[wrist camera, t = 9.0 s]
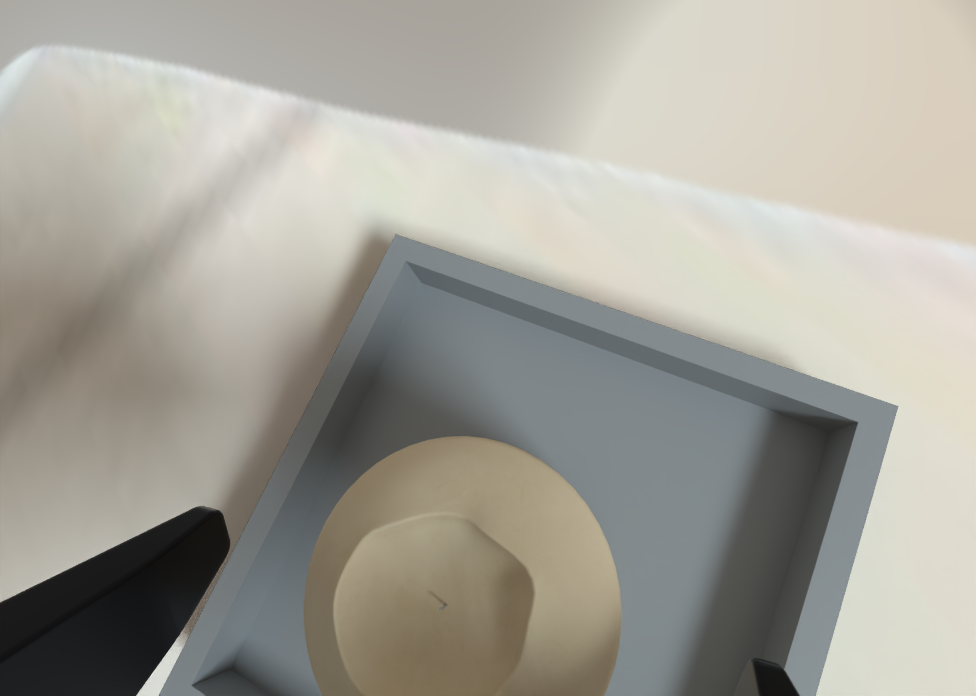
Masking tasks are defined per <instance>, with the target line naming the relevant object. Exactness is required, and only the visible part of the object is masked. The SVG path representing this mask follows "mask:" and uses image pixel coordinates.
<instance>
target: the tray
mask: <svg viewBox="0 0 976 696" xmlns="http://www.w3.org/2000/svg"><path fill="white" fill-rule="evenodd" d="M897 409H898V406H896V405H893V404H890V403H887V402H884V401H881V400H878V399H876V398H873V397H870V396H867V395H864V394H861V393H858V392H855V391H852V390H849V389H846V388H843V387H841V386H838V385H835V384H832V383H829V382H826V381H823V380H820V379H817V378H814V377H811V376H808V375H806V374H803V373H800V372H797V371H794V370H791V369H788V368H785V367H782V366H779V365H776V364H773V363H770V362H768V361H765V360H762V359H759V358H756V357H753V356H750V355H747V354H744V353H741V352H738V351H735V350H733V349H730V348H727V347H724V346H721V345H718V344H715V343H712V342H709V341H706V340H703V339H700V338H698V337H695V336H692V335H689V334H686V333H683V332H680V331H677V330H674V329H671V328H668V327H665V326H662V325H660V324H657V323H654V322H651V321H648V320H645V319H642V318H639V317H636V316H633V315H630V314H627V313H625V312H622V311H619V310H616V309H613V308H610V307H607V306H604V305H601V304H598V303H595V302H592V301H590V300H587V299H584V298H581V297H578V296H575V295H572V294H569V293H566V292H563V291H560V290H557V289H555V288H552V287H549V286H546V285H543V284H540V283H537V282H534V281H531V280H528V279H525V278H522V277H519V276H517V275H514V274H511V273H508V272H505V271H502V270H499V269H496V268H493V267H490V266H487V265H484V264H482V263H479V262H476V261H473V260H470V259H467V258H464V257H461V256H458V255H455V254H452V253H449V252H447V251H444V250H441V249H438V248H435V247H432V246H429V245H426V244H423V243H420V242H417V241H414V240H411V239H409V238H406V237H403V236H400V235H397V234H396V235H395V237H394V239H393V240H392V242H391V244H390V246H389V248H388V250H387V252H386V254H385V256H384V258H383V260H382V262H381V264H380V266H379V268H378V270H377V272H376V274H375V276H374V277H373V279H372V281H371V283H370V285H369V287H368V289H367V291H366V293H365V295H364V297H363V299H362V301H361V303H360V305H359V307H358V309H357V311H356V313H355V314H354V316H353V318H352V320H351V322H350V324H349V326H348V328H347V330H346V332H345V334H344V336H343V338H342V340H341V342H340V344H339V346H338V348H337V349H336V351H335V353H334V355H333V357H332V359H331V361H330V363H329V365H328V367H327V369H326V371H325V373H324V375H323V377H322V379H321V381H320V383H319V385H318V386H317V388H316V390H315V392H314V394H313V396H312V398H311V400H310V402H309V404H308V406H307V408H306V410H305V412H304V414H303V416H302V418H301V420H300V422H299V423H298V425H297V427H296V429H295V431H294V433H293V435H292V437H291V439H290V441H289V443H288V445H287V447H286V449H285V451H284V453H283V455H282V457H281V459H280V460H279V462H278V464H277V466H276V468H275V470H274V472H273V474H272V476H271V478H270V480H269V482H268V484H267V486H266V488H265V490H264V492H263V494H262V496H261V497H260V499H259V501H258V503H257V505H256V507H255V509H254V511H253V513H252V515H251V517H250V519H249V521H248V523H247V525H246V527H245V529H244V531H243V533H242V534H241V536H240V538H239V540H238V542H237V544H236V546H235V548H234V550H233V552H232V554H231V556H230V558H229V560H228V562H227V564H226V566H225V568H224V569H223V571H222V573H221V575H220V577H219V579H218V581H217V583H216V585H215V587H214V589H213V591H212V593H211V595H210V597H209V599H208V601H207V603H206V605H205V606H204V608H203V610H202V612H201V614H200V616H199V618H198V620H197V622H196V624H195V626H194V628H193V630H192V632H191V634H190V636H189V638H188V640H187V642H186V643H185V645H184V647H183V649H182V651H181V653H180V655H179V657H178V659H177V661H176V663H175V665H174V667H173V669H172V671H171V673H170V675H169V677H168V679H167V680H166V682H165V684H164V686H163V688H162V690H161V692H160V694H159V696H322V694H321V692H320V689H319V687H318V684H317V681H316V679H315V676H314V674H313V671H312V667H311V663H310V659H309V655H308V651H307V644H306V637H305V630H304V596H305V585H306V579H307V574H308V569H309V564H310V561H311V558H312V554H313V551H314V548H315V545H316V542H317V540H318V538H319V535H320V533H321V531H322V529H323V527H324V524H325V522H326V521H327V519H328V517H329V516H330V514H331V512H332V511H333V509H334V507H335V506H336V504H337V503H338V502H339V500H340V499H341V498H342V496H343V495H344V494H345V493H346V491H347V490H348V489H349V488H350V487H351V486H352V485H353V484H354V483H355V482H356V481H357V480H358V479H359V478H360V477H361V475H363V474H364V473H365V472H366V471H368V470H369V469H370V468H371V467H373V466H374V465H375V464H376V463H378V462H380V461H381V460H383V459H384V458H386V457H388V456H389V455H391V454H393V453H394V452H397V451H399V450H401V449H403V448H406V447H408V446H410V445H413V444H416V443H420V442H423V441H426V440H430V439H436V438H442V437H453V436H470V437H479V438H487V439H491V440H495V441H499V442H503V443H506V444H509V445H512V446H514V447H517V448H519V449H522V450H524V451H526V452H528V453H529V454H531V455H533V456H535V457H536V458H538V459H540V460H542V461H543V462H544V463H546V464H547V465H548V466H550V467H551V468H552V469H554V470H555V471H556V472H558V473H559V474H560V475H561V476H562V477H563V478H564V479H565V480H566V481H567V482H568V483H569V484H570V485H571V486H572V487H573V488H574V489H575V490H576V491H577V493H578V494H579V495H580V496H581V498H582V499H583V500H584V501H585V503H586V504H587V505H588V507H589V508H590V510H591V512H592V513H593V515H594V516H595V518H596V520H597V521H598V523H599V525H600V527H601V529H602V531H603V534H604V536H605V538H606V540H607V542H608V545H609V548H610V551H611V554H612V557H613V560H614V564H615V567H616V572H617V577H618V582H619V588H620V597H621V613H622V618H621V634H620V643H619V649H618V654H617V659H616V664H615V667H614V671H613V674H612V677H611V680H610V683H609V686H608V689H607V691H606V693H605V695H604V696H735V691H736V688H737V685H738V683H739V681H740V678H741V676H742V674H743V671H744V669H745V667H746V665H747V662H748V661H749V659H751V658H753V657H756V658H760V659H764V660H767V661H771V662H775V663H777V664H779V665H781V666H782V667H783V668H784V669H785V671H786V672H787V674H788V676H789V677H790V679H791V681H792V682H793V684H794V686H795V688H796V689H797V691H798V693H799V694H800V696H816V692H817V689H818V685H819V682H820V678H821V675H822V671H823V668H824V664H825V661H826V657H827V654H828V650H829V647H830V643H831V640H832V636H833V633H834V629H835V626H836V622H837V619H838V615H839V612H840V608H841V605H842V601H843V598H844V594H845V591H846V587H847V584H848V580H849V577H850V573H851V570H852V566H853V563H854V559H855V556H856V552H857V549H858V545H859V542H860V538H861V535H862V531H863V528H864V524H865V521H866V517H867V514H868V510H869V507H870V503H871V500H872V496H873V493H874V489H875V486H876V482H877V479H878V475H879V472H880V468H881V465H882V461H883V458H884V454H885V451H886V447H887V444H888V440H889V437H890V433H891V430H892V426H893V423H894V419H895V416H896V412H897Z"/></svg>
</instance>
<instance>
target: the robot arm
mask: <svg viewBox="0 0 976 696" xmlns="http://www.w3.org/2000/svg"><path fill="white" fill-rule="evenodd" d="M229 548H230V539H229V535H228V531H227V527H226V524H225V520H224V516H223V514H222V513H221V512H220V511H219V510H216V509H212V508H209V507H205V506H199V507H195V508H193V509H191V510H189V511H187V512H185V513H183V514H181V515H179V516H176V517H174V518H172V519H170V520H168V521H166V522H164V523H162V524H160V525H158V526H156V527H154V528H152V529H150V530H148V531H146V532H144V533H142V534H140V535H138V536H136V537H133V538H131V539H129V540H127V541H125V542H123V543H121V544H119V545H117V546H115V547H113V548H111V549H109V550H107V551H105V552H103V553H101V554H99V555H97V556H95V557H93V558H91V559H88V560H86V561H84V562H82V563H80V564H78V565H76V566H74V567H72V568H70V569H68V570H66V571H64V572H62V573H60V574H58V575H56V576H54V577H52V578H50V579H48V580H46V581H43V582H41V583H39V584H37V585H35V586H33V587H31V588H29V589H27V590H25V591H23V592H21V593H19V594H17V595H15V596H13V597H11V598H9V599H7V600H5V601H3V602H1V603H0V696H136V695H137V694H138V692H139V691H140V689H141V688H142V687H143V685H144V684H145V682H146V681H147V680H148V678H149V677H150V676H151V674H152V673H153V671H154V670H155V669H156V667H157V666H158V664H159V663H160V662H161V660H162V659H163V657H164V656H165V655H166V653H167V652H168V650H169V649H170V648H171V646H172V645H173V643H174V642H175V640H176V639H177V637H178V636H179V635H180V633H181V631H182V630H183V628H184V627H185V625H186V624H187V622H188V620H189V619H190V617H191V615H192V614H193V612H194V610H195V608H196V607H197V605H198V603H199V602H200V600H201V598H202V597H203V595H204V593H205V592H206V590H207V588H208V587H209V585H210V583H211V581H212V580H213V578H214V576H215V575H216V573H217V571H218V570H219V568H220V566H221V565H222V563H223V561H224V559H225V558H226V556H227V554H228V551H229ZM735 696H800V694H799V693H798V691H797V689H796V688H795V686H794V684H793V682H792V681H791V679H790V677H789V676H788V674H787V672H786V671H785V669H784V668H783V667H782V666H781V665H779V664H777V663H775V662H771V661H767V660H764V659H760V658H756V657H753V658H751V659H749V661H748V662H747V665H746V667H745V669H744V671H743V674H742V676H741V678H740V681H739V683H738V685H737V688H736V691H735Z"/></svg>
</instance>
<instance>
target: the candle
mask: <svg viewBox="0 0 976 696" xmlns="http://www.w3.org/2000/svg"><path fill="white" fill-rule="evenodd" d="M621 618H622V613H621V597H620V588H619V582H618V577H617V572H616V567H615V564H614V560H613V557H612V554H611V551H610V548H609V545H608V542H607V540H606V538H605V536H604V534H603V531H602V529H601V527H600V525H599V523H598V521H597V520H596V518H595V516H594V515H593V513H592V512H591V510H590V508H589V507H588V505H587V504H586V503H585V501H584V500H583V499H582V498H581V496H580V495H579V494H578V493H577V491H576V490H575V489H574V488H573V487H572V486H571V485H570V484H569V483H568V482H567V481H566V480H565V479H564V478H563V477H562V476H561V475H560V474H559V473H558V472H556V471H555V470H554V469H552V468H551V467H550V466H548V465H547V464H546V463H544V462H543V461H542V460H540V459H538V458H536V457H535V456H533V455H531V454H529V453H528V452H526V451H524V450H522V449H519V448H517V447H514V446H512V445H509V444H506V443H503V442H499V441H495V440H491V439H487V438H479V437H470V436H453V437H442V438H436V439H430V440H426V441H423V442H420V443H416V444H413V445H410V446H408V447H406V448H403V449H401V450H399V451H397V452H394V453H393V454H391V455H389V456H388V457H386V458H384V459H383V460H381V461H380V462H378V463H376V464H375V465H374V466H373V467H371V468H370V469H369V470H368V471H366V472H365V473H364V474H363V475H361V477H360V478H359V479H358V480H357V481H356V482H355V483H354V484H353V485H352V486H351V487H350V488H349V489H348V490H347V491H346V493H345V494H344V495H343V496H342V498H341V499H340V500H339V502H338V503H337V504H336V506H335V507H334V509H333V511H332V512H331V514H330V516H329V517H328V519H327V521H326V522H325V524H324V527H323V529H322V531H321V533H320V535H319V538H318V540H317V542H316V545H315V548H314V551H313V554H312V558H311V561H310V564H309V569H308V574H307V579H306V585H305V596H304V630H305V637H306V644H307V651H308V655H309V659H310V663H311V667H312V671H313V674H314V676H315V679H316V681H317V684H318V687H319V689H320V692H321V694H322V696H604V695H605V693H606V691H607V689H608V686H609V683H610V680H611V677H612V674H613V671H614V667H615V664H616V659H617V654H618V649H619V643H620V634H621Z"/></svg>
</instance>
